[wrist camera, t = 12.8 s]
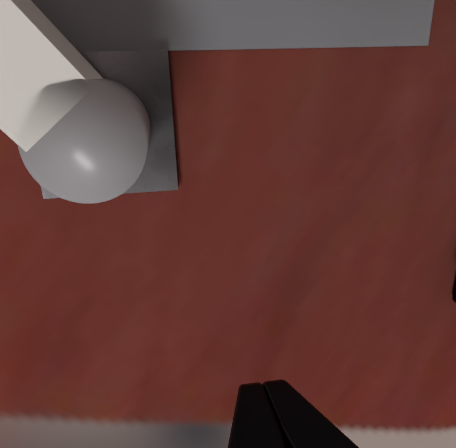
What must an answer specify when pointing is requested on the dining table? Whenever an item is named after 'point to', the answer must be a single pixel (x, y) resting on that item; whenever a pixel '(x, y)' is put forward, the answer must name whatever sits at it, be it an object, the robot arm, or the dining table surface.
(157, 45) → the label mat
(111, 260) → the dining table surface
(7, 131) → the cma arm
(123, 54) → the grey flat square plate
